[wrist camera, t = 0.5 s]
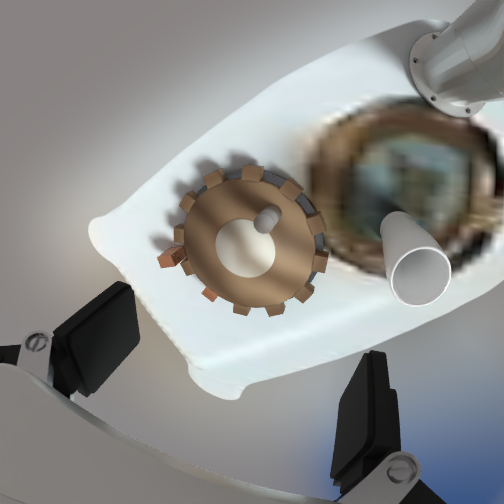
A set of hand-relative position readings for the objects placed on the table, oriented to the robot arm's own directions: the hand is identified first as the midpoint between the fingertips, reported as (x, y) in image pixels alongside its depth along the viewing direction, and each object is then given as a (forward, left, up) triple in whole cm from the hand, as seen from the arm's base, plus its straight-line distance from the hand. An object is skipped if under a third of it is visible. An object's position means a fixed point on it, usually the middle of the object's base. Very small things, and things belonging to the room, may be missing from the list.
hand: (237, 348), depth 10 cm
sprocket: (+13, -2, -30) cm, 33 cm away
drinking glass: (-3, +13, -32) cm, 35 cm away
